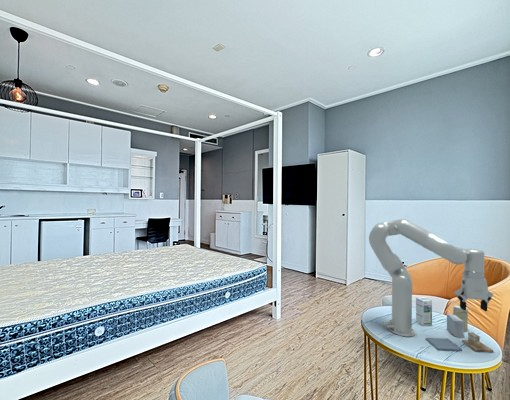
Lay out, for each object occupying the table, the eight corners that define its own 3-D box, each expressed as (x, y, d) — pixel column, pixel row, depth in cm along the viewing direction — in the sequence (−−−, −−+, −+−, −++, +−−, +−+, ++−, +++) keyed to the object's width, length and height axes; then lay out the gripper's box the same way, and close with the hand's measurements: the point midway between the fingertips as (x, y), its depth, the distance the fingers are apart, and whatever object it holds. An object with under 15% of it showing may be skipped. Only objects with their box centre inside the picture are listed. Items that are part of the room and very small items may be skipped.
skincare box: (452, 328, 146) (452, 306, 147) (454, 325, 149) (454, 304, 150) (467, 332, 142) (467, 309, 142) (468, 329, 145) (468, 307, 145)
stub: (475, 351, 123) (475, 338, 123) (461, 341, 132) (461, 329, 132) (493, 352, 122) (493, 339, 122) (478, 342, 131) (478, 330, 131)
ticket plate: (438, 350, 123) (438, 348, 123) (425, 339, 133) (425, 337, 133) (462, 351, 123) (462, 349, 123) (447, 340, 133) (447, 338, 133)
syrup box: (423, 326, 148) (423, 300, 149) (415, 321, 154) (415, 296, 154) (432, 325, 149) (432, 300, 149) (424, 321, 155) (424, 296, 155)
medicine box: (464, 337, 136) (464, 321, 136) (454, 336, 137) (454, 320, 137) (455, 330, 143) (455, 314, 144) (446, 329, 144) (446, 314, 145)
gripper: (461, 276, 124) (460, 312, 124) (499, 277, 124) (498, 313, 123) (450, 271, 132) (449, 305, 132) (486, 273, 131) (485, 307, 131)
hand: (473, 309), depth 128 cm, fingers open, 9 cm apart
